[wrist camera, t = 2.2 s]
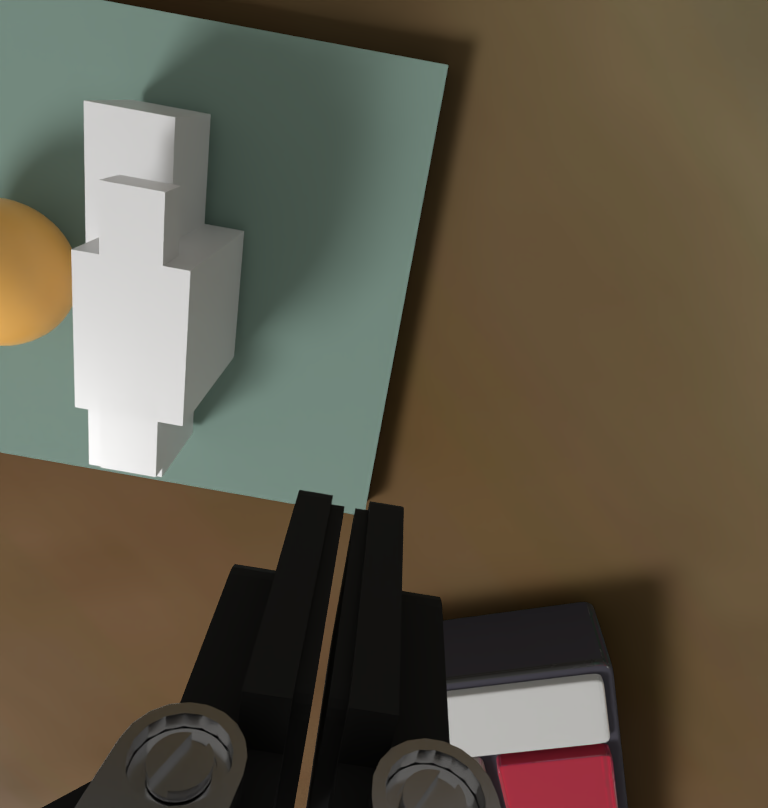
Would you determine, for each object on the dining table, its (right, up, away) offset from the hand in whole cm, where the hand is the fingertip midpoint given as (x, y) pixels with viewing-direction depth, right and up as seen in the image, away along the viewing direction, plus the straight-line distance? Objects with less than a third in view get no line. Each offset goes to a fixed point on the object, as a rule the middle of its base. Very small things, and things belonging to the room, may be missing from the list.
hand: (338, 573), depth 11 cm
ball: (-11, +7, +10) cm, 17 cm away
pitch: (-10, +8, +13) cm, 19 cm away
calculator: (+6, -13, +22) cm, 27 cm away
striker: (-6, +7, +12) cm, 15 cm away
